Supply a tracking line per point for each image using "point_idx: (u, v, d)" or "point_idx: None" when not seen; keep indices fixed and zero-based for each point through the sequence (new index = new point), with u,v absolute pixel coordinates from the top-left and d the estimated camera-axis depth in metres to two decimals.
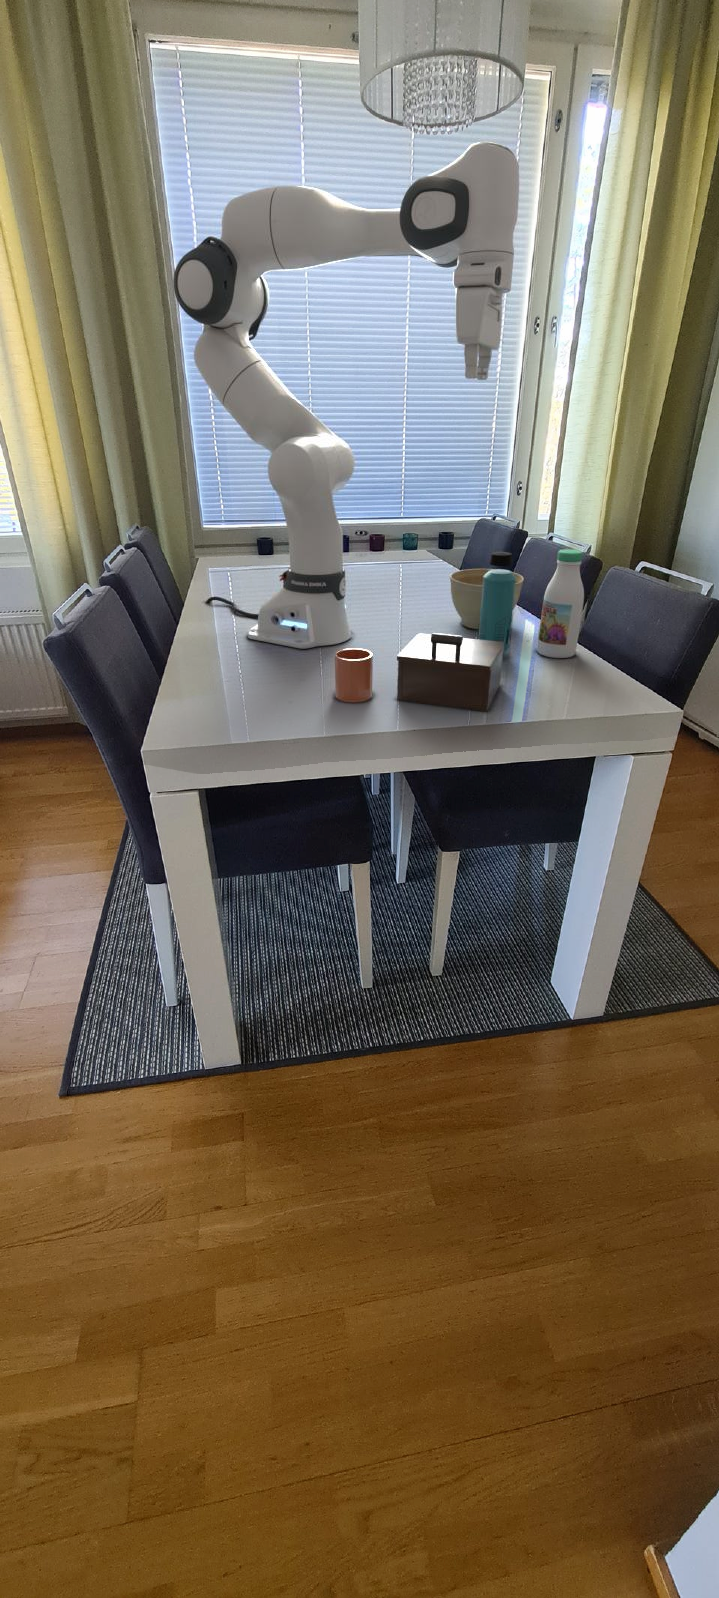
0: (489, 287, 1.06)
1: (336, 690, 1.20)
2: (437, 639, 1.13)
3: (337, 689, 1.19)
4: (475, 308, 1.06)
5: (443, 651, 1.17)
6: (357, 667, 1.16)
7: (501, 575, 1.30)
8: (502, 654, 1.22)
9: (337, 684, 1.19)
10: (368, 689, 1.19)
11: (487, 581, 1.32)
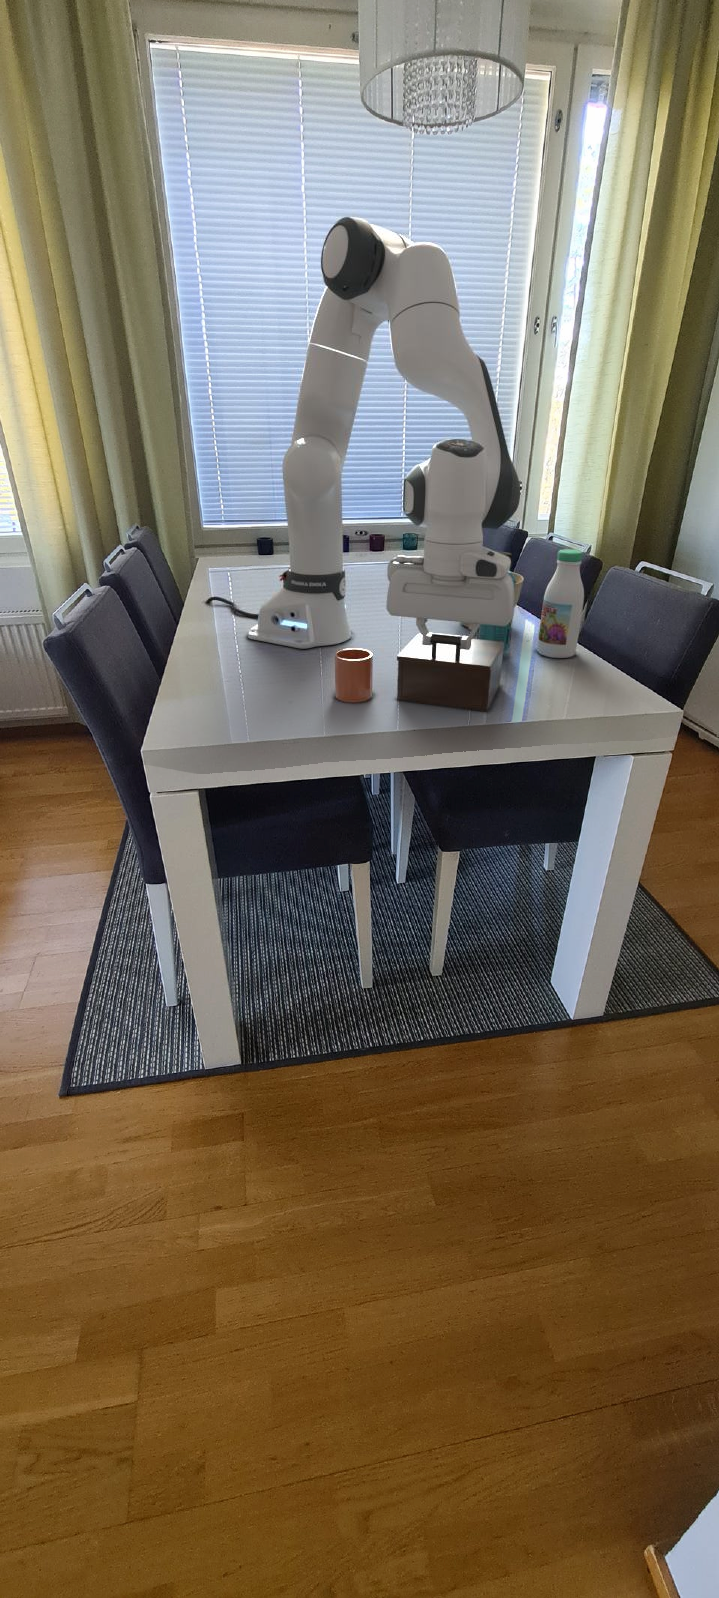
0: None
1: (336, 690, 1.20)
2: (437, 639, 1.13)
3: (337, 689, 1.19)
4: (513, 593, 1.07)
5: (443, 651, 1.17)
6: (357, 667, 1.16)
7: None
8: (502, 654, 1.22)
9: (337, 684, 1.19)
10: (368, 689, 1.19)
11: None
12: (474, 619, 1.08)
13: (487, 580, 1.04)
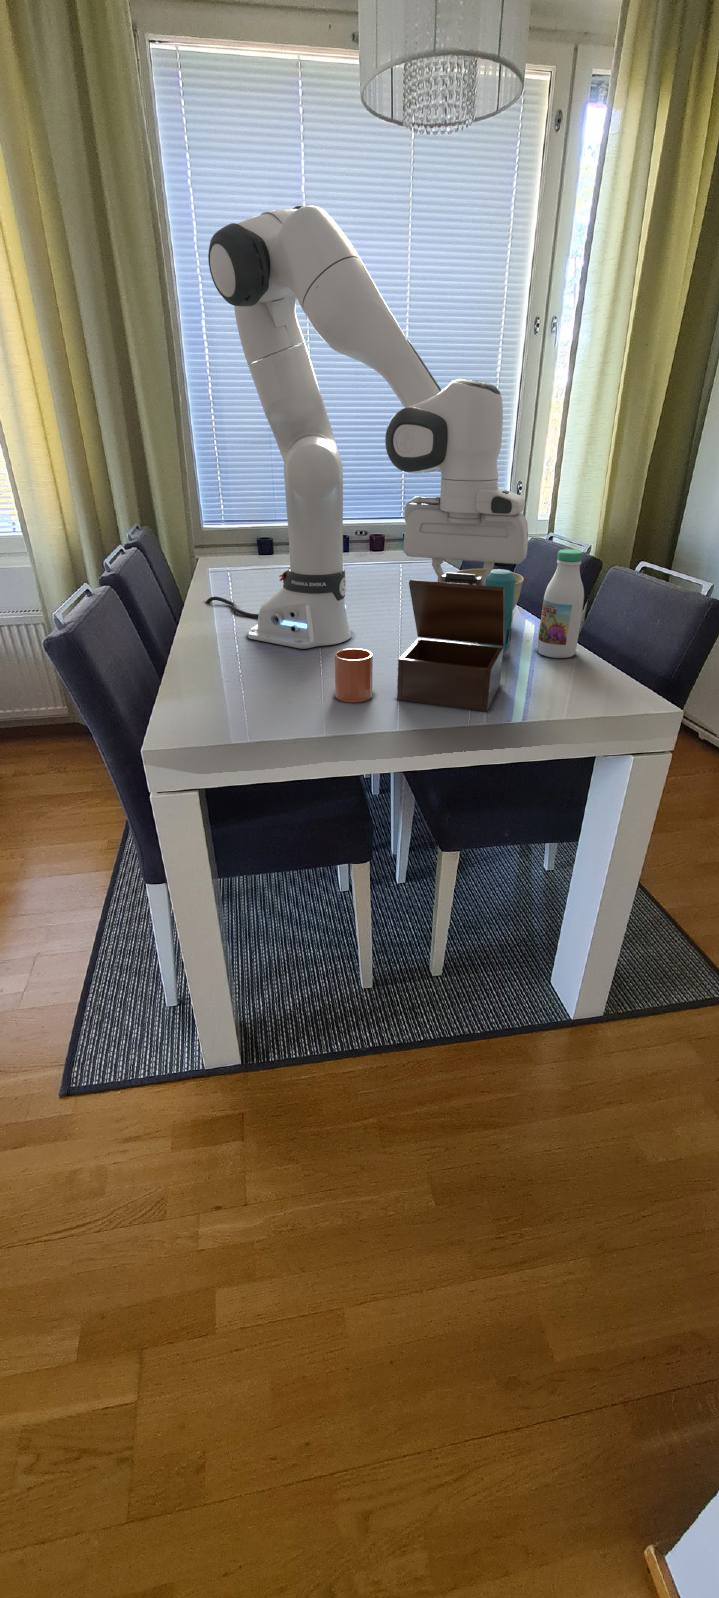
0: None
1: (336, 690, 1.20)
2: (452, 574, 1.15)
3: (337, 689, 1.19)
4: (527, 532, 1.10)
5: None
6: (357, 667, 1.16)
7: (501, 575, 1.30)
8: (502, 654, 1.22)
9: (337, 684, 1.19)
10: (368, 689, 1.19)
11: (487, 581, 1.32)
12: (489, 557, 1.11)
13: (502, 518, 1.07)
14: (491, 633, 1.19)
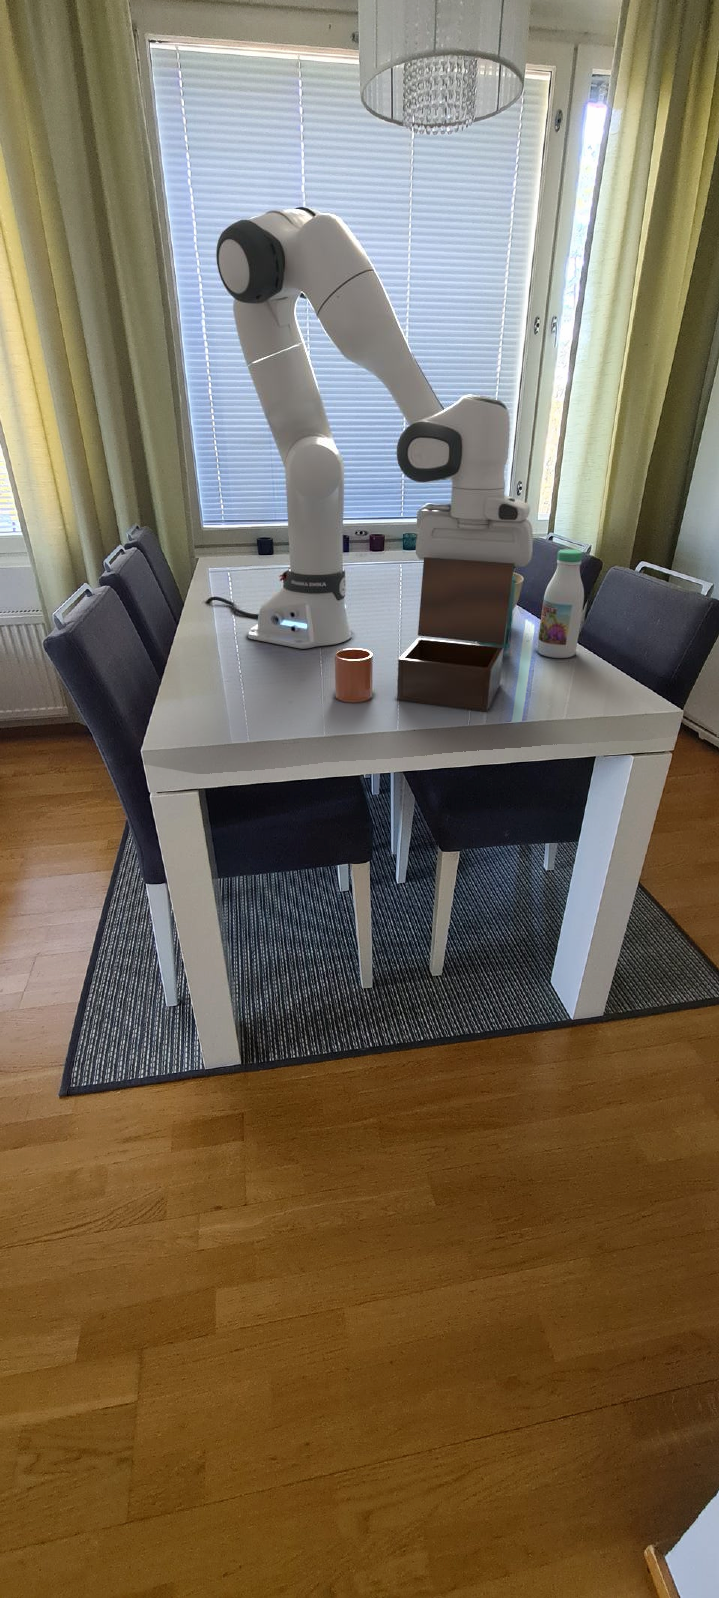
0: None
1: (336, 690, 1.20)
2: None
3: (337, 689, 1.19)
4: (532, 537, 1.18)
5: None
6: (357, 667, 1.16)
7: None
8: (502, 654, 1.22)
9: (337, 684, 1.19)
10: (368, 689, 1.19)
11: None
12: (496, 560, 1.19)
13: (508, 523, 1.15)
14: (494, 625, 1.21)
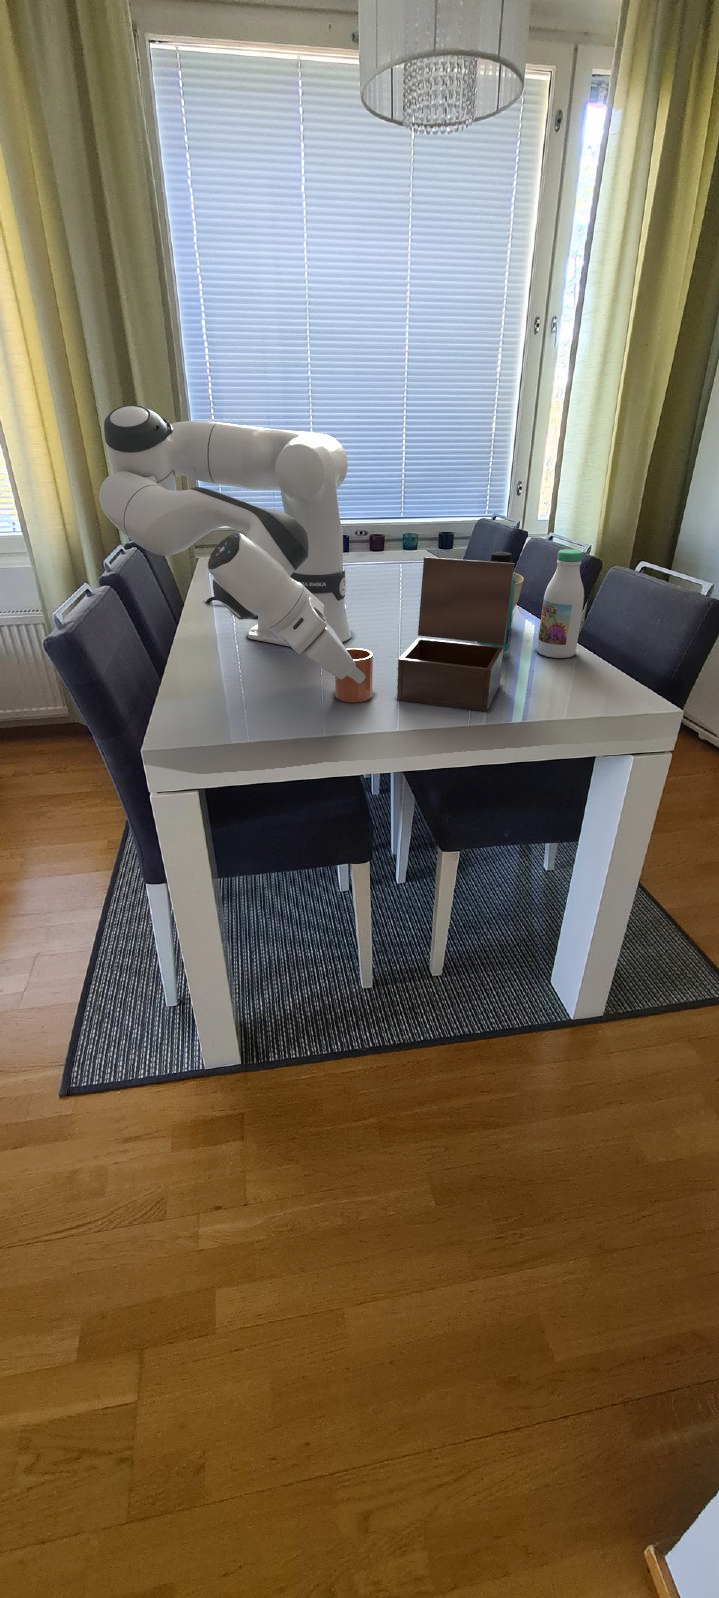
0: (326, 628, 1.07)
1: (336, 690, 1.20)
2: None
3: (337, 689, 1.19)
4: (334, 651, 1.06)
5: None
6: (357, 667, 1.16)
7: None
8: (502, 654, 1.22)
9: (337, 684, 1.19)
10: (368, 689, 1.19)
11: None
12: None
13: None
14: (494, 625, 1.21)
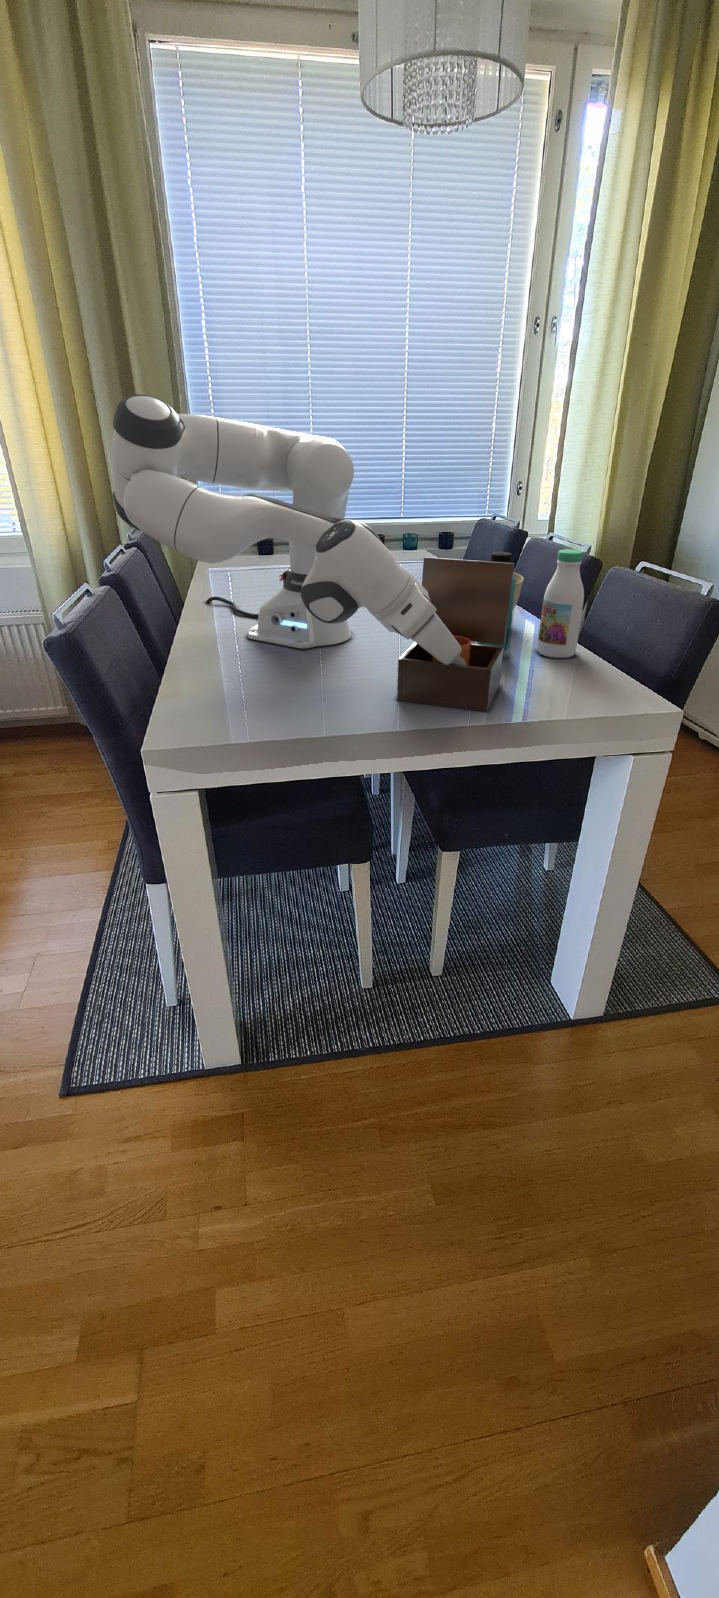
0: (434, 613, 1.06)
1: None
2: None
3: None
4: (442, 636, 1.06)
5: None
6: None
7: None
8: (502, 654, 1.22)
9: None
10: None
11: None
12: None
13: None
14: (494, 625, 1.21)
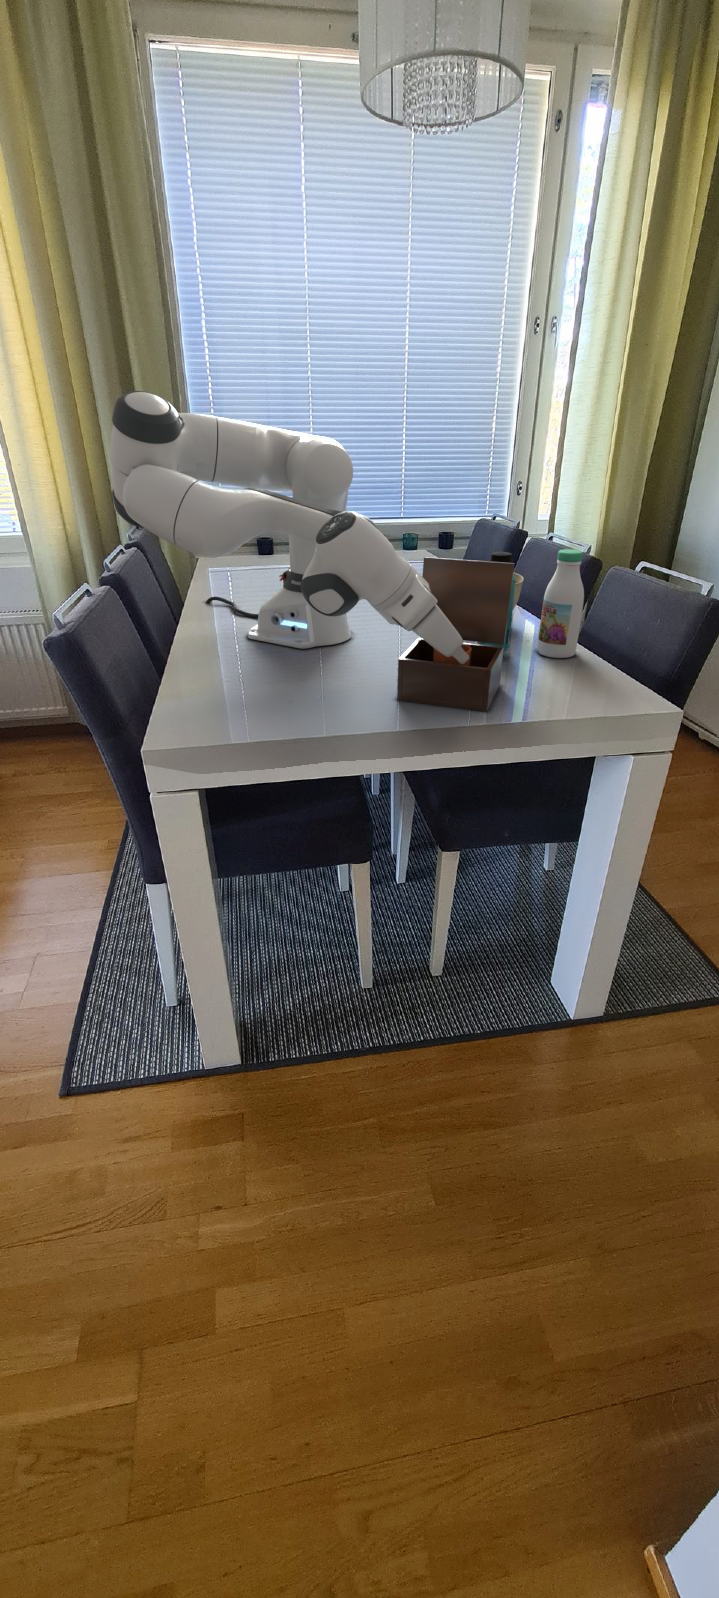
0: (436, 605, 1.06)
1: None
2: None
3: None
4: (444, 628, 1.06)
5: None
6: (458, 661, 1.16)
7: None
8: (502, 654, 1.22)
9: None
10: None
11: None
12: None
13: None
14: (494, 625, 1.21)
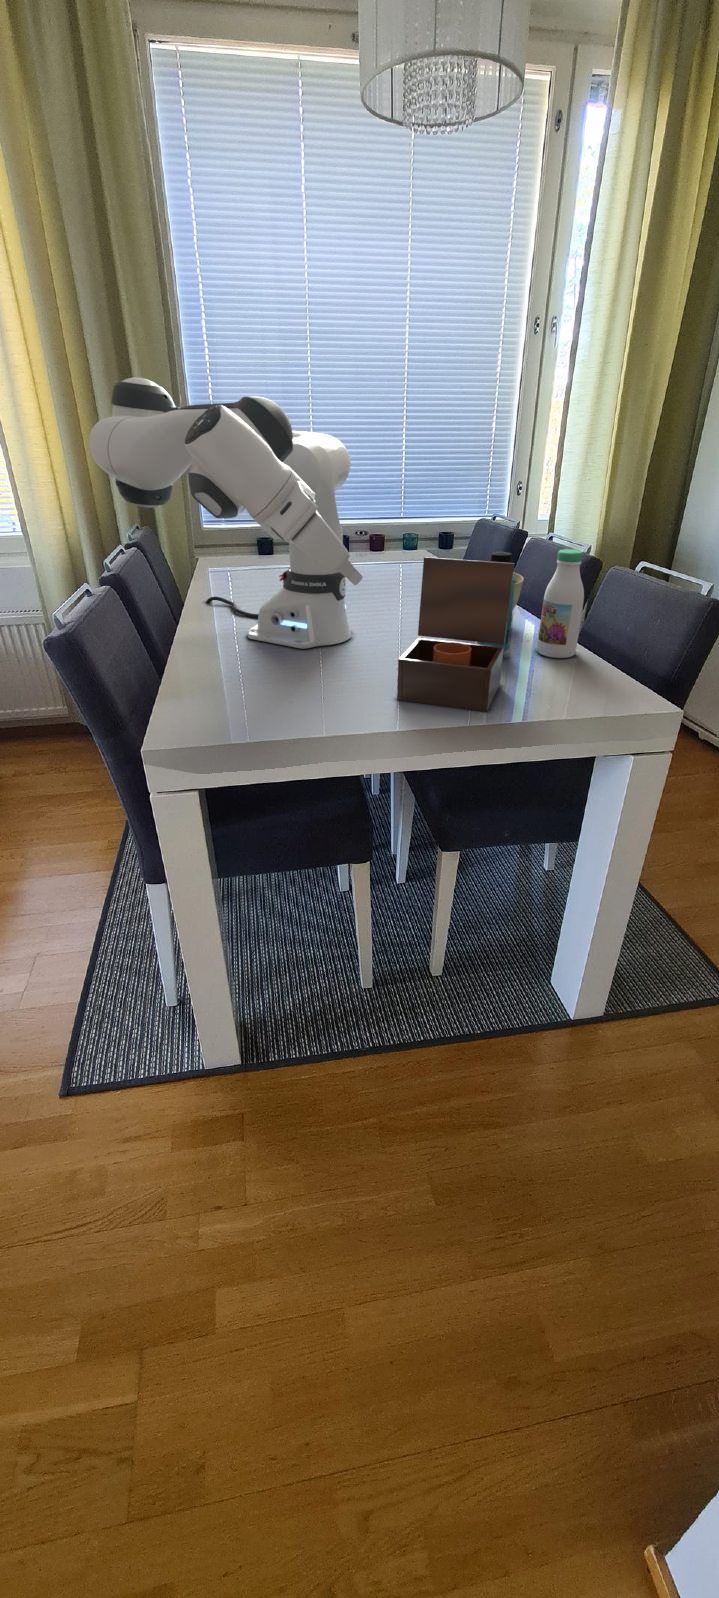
0: (316, 513, 0.95)
1: None
2: None
3: None
4: (325, 538, 0.95)
5: None
6: (458, 661, 1.16)
7: None
8: (502, 654, 1.22)
9: None
10: None
11: None
12: None
13: (291, 541, 0.98)
14: (494, 625, 1.21)
